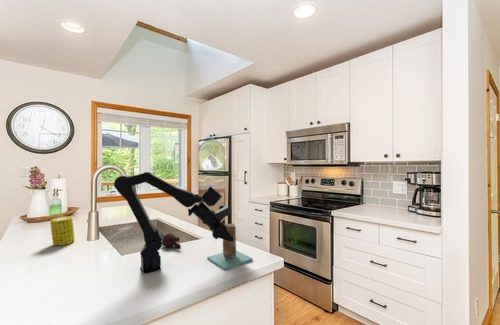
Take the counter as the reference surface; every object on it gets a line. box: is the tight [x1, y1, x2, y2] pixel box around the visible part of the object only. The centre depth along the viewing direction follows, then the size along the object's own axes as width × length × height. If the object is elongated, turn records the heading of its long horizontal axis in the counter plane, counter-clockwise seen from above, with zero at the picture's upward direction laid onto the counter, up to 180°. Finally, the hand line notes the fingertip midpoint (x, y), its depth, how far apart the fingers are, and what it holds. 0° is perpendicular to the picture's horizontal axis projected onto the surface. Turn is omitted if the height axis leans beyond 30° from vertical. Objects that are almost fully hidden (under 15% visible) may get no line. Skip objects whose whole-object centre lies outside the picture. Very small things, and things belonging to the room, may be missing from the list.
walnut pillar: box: [222, 223, 237, 257], centre depth 108 cm, size 5×5×12 cm
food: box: [50, 215, 76, 246], centre depth 135 cm, size 15×12×10 cm
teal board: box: [206, 250, 254, 271], centre depth 108 cm, size 14×14×1 cm
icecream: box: [162, 232, 182, 249], centre depth 127 cm, size 7×7×15 cm
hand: (232, 238), depth 108 cm, fingers closed on walnut pillar, 5 cm apart
